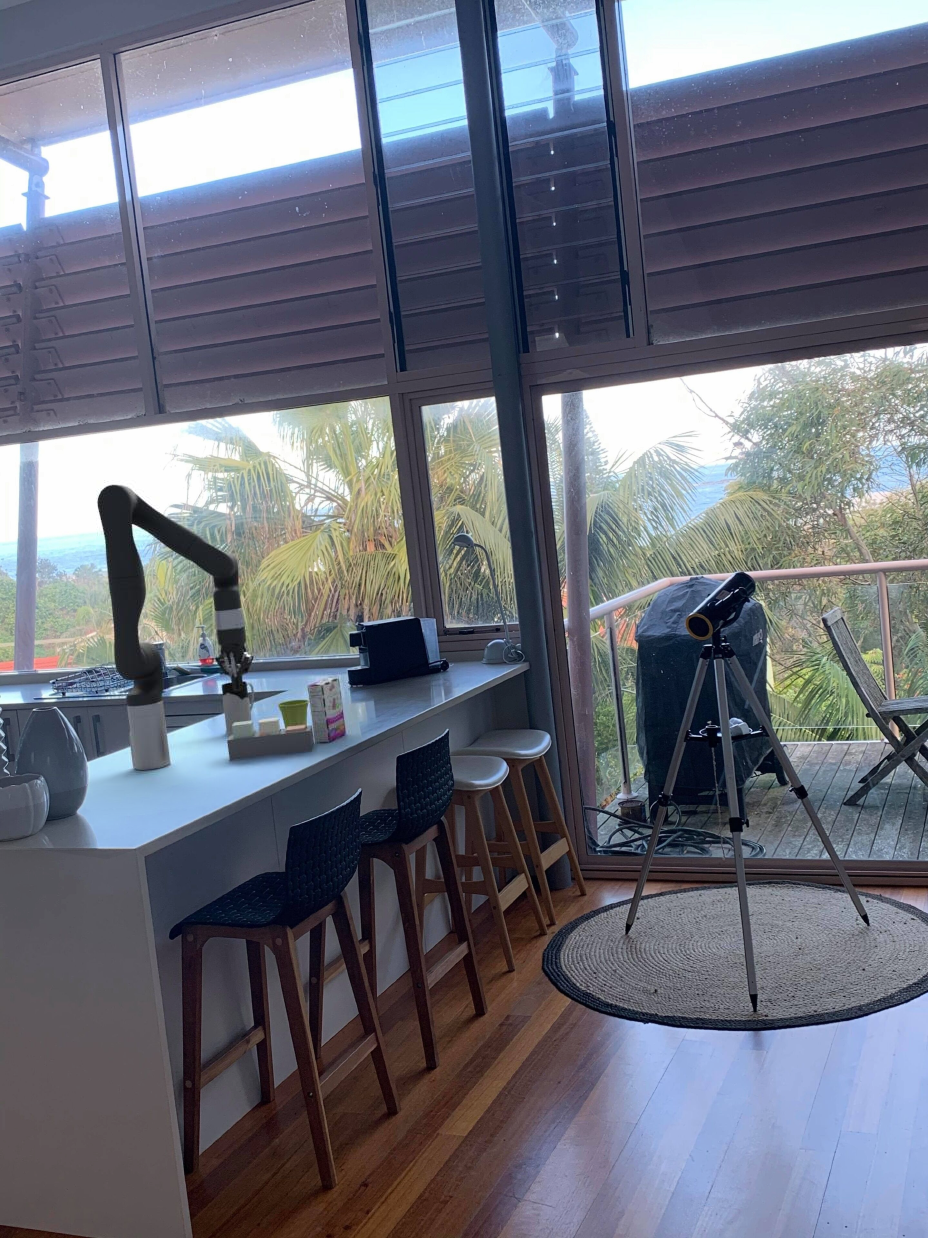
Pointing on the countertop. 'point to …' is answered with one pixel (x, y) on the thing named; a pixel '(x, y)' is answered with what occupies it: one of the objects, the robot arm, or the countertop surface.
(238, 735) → the key sage
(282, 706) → the plant pot
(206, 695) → the countertop surface
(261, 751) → the grey long block
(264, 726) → the key sand
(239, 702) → the pitcher
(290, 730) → the key terracotta
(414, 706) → the countertop surface
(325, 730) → the candy bar box
